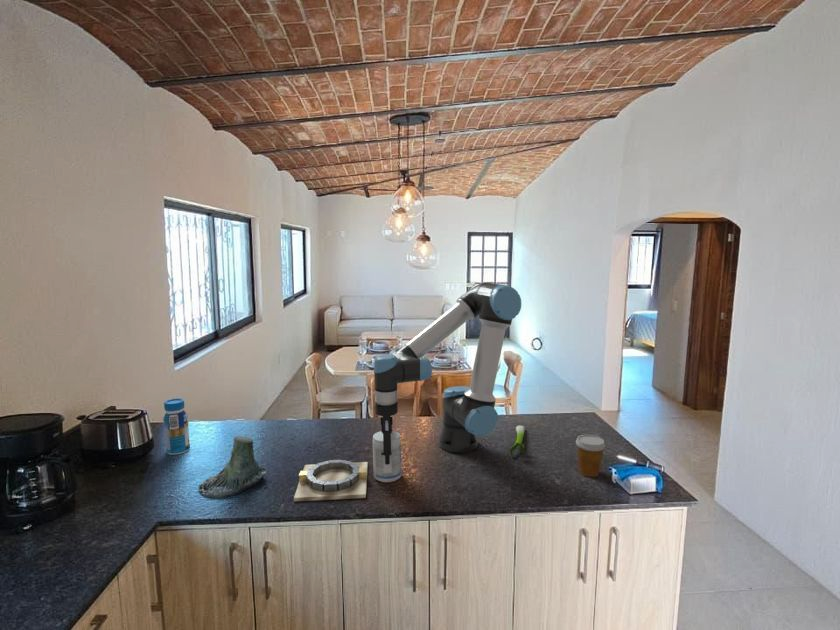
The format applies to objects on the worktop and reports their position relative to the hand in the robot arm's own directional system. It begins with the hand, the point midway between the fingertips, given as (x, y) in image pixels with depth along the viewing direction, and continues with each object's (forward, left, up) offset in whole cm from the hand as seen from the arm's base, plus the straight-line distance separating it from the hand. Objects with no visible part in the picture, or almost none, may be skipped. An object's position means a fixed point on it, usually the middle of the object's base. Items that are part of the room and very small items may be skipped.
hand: (387, 465), depth 160 cm
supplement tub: (0, 0, -4) cm, 4 cm away
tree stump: (+51, -1, -5) cm, 51 cm away
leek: (-51, -21, -5) cm, 56 cm away
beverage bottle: (+80, -28, -4) cm, 85 cm away
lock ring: (+18, +2, -3) cm, 18 cm away
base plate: (+18, +2, -4) cm, 19 cm away
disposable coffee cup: (-69, +4, -4) cm, 69 cm away
